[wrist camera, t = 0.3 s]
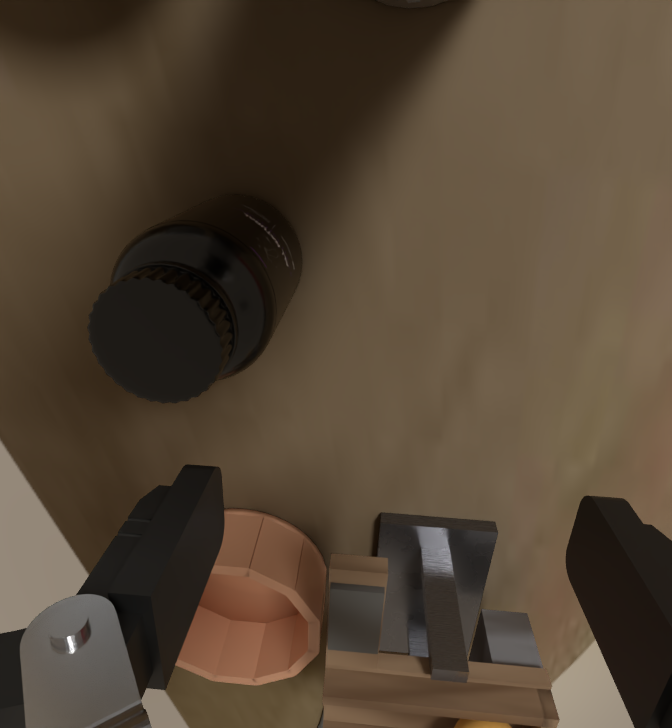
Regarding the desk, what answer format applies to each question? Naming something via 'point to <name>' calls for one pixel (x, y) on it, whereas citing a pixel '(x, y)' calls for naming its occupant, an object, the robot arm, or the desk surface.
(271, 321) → the supplement bottle
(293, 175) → the desk surface
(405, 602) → the chute stand
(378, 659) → the chute
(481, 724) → the ball
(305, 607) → the pink round bowl
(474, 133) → the desk surface
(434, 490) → the desk surface
